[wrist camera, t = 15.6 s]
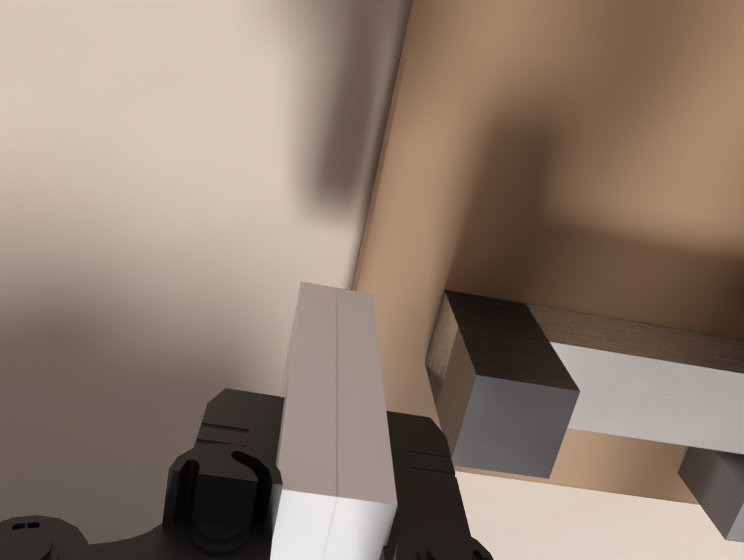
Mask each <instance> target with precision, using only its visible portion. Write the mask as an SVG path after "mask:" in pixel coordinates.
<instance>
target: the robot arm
mask: <svg viewBox="0 0 744 560" xmlns="http://www.w3.org/2000/svg"><path fill="white" fill-rule="evenodd" d="M0 560H493V558H492V556H491V554H490V552H489V551H488V550H486V549H485V548H484V547H483V546H482V545H481V544H480V543H479V542H478V541H477V540H476V539H474V538H472V537H471V534H470V530H469V526H468V522H467V518H466V514H465V510H464V506H463V502H462V498H461V494H460V490H459V486H458V482H457V478H456V477H455V470H454V466H453V462H452V460H451V454H450V450H449V446H448V442H447V438H446V436H445V434H444V433H443V432H442V431H441V430H440V428H439V427H438V426H437V425H436V424H435V422H434V421H433V420H432V419H431V418H430V417H425V416H418V415H412V414H405V413H398V412H392V411H386V405H385V397H384V388H383V380H382V372H381V363H380V355H379V347H378V338H377V330H376V322H375V313H374V305H373V297H372V294H369V293H363V292H357V291H351V290H346V289H340V288H334V287H328V286H322V285H316V284H311V283H305V282H301V285H300V290H299V296H298V301H297V307H296V312H295V318H294V323H293V329H292V334H291V340H290V345H289V351H288V356H287V361H286V367H285V372H284V378H283V383H282V389H281V394H280V397H279V396H272V395H266V394H259V393H253V392H246V391H239V390H233V389H226V388H225V389H224V390H223V391H222V392H221V393H219V394H218V395H217V396H216V397H215V398H213V399H212V400H211V401H210V402H209V403H208V404H207V408H206V411H205V414H204V417H203V420H202V424H201V427H200V430H199V433H198V436H197V440H196V443H195V446H194V448H192V449H191V450H189V451H187V452H185V453H184V454H182V455H180V456H179V457H177V459H176V460H175V462H174V463H173V465H172V466H171V467H170V469H169V473H168V482H167V490H166V498H165V506H164V515H163V523H162V524H160V525H159V526H157V527H156V528H154V529H152V530H151V531H149V532H147V533H145V534H142V535H140V536H137V537H134V538H131V539H126V540H121V541H116V542H109V543H100V544H92V545H88V541H87V540H86V539H85V537H84V536H83V535H82V533H81V532H80V531H79V529H78V528H77V527H75V526H73V525H71V524H69V523H67V522H65V521H63V520H61V519H58V518H52V517H45V516H39V515H35V516H25V517H16V518H11V519H8V520H5V521H2V522H0Z"/></svg>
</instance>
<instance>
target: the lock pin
mask: <svg viewBox="0 0 744 560" xmlns="http://www.w3.org/2000/svg"><path fill="white" fill-rule="evenodd" d="M425 367H426V371H427V375H428V379H429V383H430V387H431V391H432V395H433V399H434V403H435V407H436V411H437V415H438V419H439V423H440V427H441V431H442V432H443V433H444V434H445V436H446V438H447V442H448V446H449V450H450V454H451V460H452V462H453V466H460V467H467V468H474V469H482V470H489V471H496V472H503V473H510V474H517V475H525V476H532V477H539V478H546V479H549V478H550V475H551V472H552V469H553V466H554V464H555V461H556V458H557V455H558V452H559V450H560V447H561V444H562V441H563V439H564V436H565V433H566V430H567V428H571V429H578V430H584V431H591V432H598V433H604V434H611V435H618V436H625V437H631V438H638V439H645V440H651V441H658V442H665V443H671V444H678V445H685V446H692V447H698V448H705V449H712V450H718V451H725V452H732V453H738V454H744V341H743V340H737V339H731V338H725V337H719V336H713V335H708V334H702V333H696V332H690V331H684V330H678V329H672V328H667V327H661V326H655V325H649V324H643V323H637V322H631V321H626V320H620V319H614V318H608V317H602V316H596V315H591V314H585V313H579V312H573V311H567V310H561V309H555V308H550V307H544V306H538V305H532V304H526V303H520V302H514V301H509V300H503V299H497V298H491V297H485V296H479V295H474V294H468V293H462V292H456V291H450V290H444V292H443V296H442V300H441V304H440V308H439V311H438V315H437V319H436V323H435V327H434V330H433V334H432V338H431V342H430V346H429V350H428V353H427V357H426V361H425Z"/></svg>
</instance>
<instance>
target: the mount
mask: <svg viewBox="0 0 744 560" xmlns="http://www.w3.org/2000/svg"><path fill="white" fill-rule="evenodd" d="M444 290H450V291H456V292H462V293H468V294H474V295H479V296H485V297H491V298H497V299H503V300H509V301H514V302H520V303H526V304H532V305H538V306H544V307H550V308H555V309H561V310H567V311H573V312H579V313H585V314H591V315H596V316H602V317H608V318H614V319H620V320H626V321H631V322H637V323H643V324H649V325H655V326H661V327H667V328H672V329H678V330H684V331H690V332H696V333H702V334H708V335H713V336H719V337H725V338H731V339H737V340H743V341H744V0H412V4H411V9H410V13H409V18H408V23H407V28H406V32H405V37H404V42H403V47H402V51H401V56H400V61H399V66H398V71H397V75H396V80H395V85H394V90H393V94H392V99H391V104H390V109H389V113H388V118H387V123H386V128H385V133H384V137H383V142H382V147H381V152H380V156H379V161H378V166H377V171H376V176H375V180H374V185H373V190H372V195H371V199H370V204H369V209H368V214H367V218H366V223H365V228H364V233H363V238H362V242H361V247H360V252H359V257H358V261H357V266H356V271H355V276H354V280H353V285H352V290H351V291H357V292H363V293H369V294H372V297H373V305H374V313H375V322H376V330H377V338H378V347H379V355H380V363H381V372H382V380H383V388H384V397H385V405H386V411H392V412H398V413H405V414H412V415H418V416H425V417H430V418H431V419H432V420H433V421H434V422H435V424H436V425H437V426H438V427H439V428H440V430H441V427H440V423H439V419H438V415H437V411H436V407H435V403H434V399H433V395H432V391H431V387H430V383H429V379H428V375H427V371H426V367H425V361H426V357H427V353H428V350H429V346H430V342H431V338H432V334H433V330H434V327H435V323H436V319H437V315H438V311H439V308H440V304H441V300H442V296H443V292H444ZM454 470H455V471H459V472H466V473H473V474H481V475H488V476H495V477H502V478H509V479H517V480H524V481H531V482H538V483H546V484H553V485H560V486H567V487H574V488H582V489H589V490H596V491H603V492H611V493H618V494H625V495H632V496H639V497H647V498H654V499H661V500H668V501H676V502H683V503H690V504H697V505H701V507H702V508H703V510H704V511H705V512H706V514H707V515H708V516H709V518H710V519H711V521H712V522H713V523H714V525H715V526H716V528H717V529H718V530H719V532H720V533H721V535H722V536H723V537H724V539H725V540H729V541H736V542H744V454H738V453H732V452H725V451H718V450H712V449H705V448H698V447H692V446H685V445H678V444H671V443H665V442H658V441H651V440H645V439H638V438H631V437H625V436H618V435H611V434H604V433H598V432H591V431H584V430H578V429H571V428H567V430H566V433H565V436H564V439H563V441H562V444H561V447H560V450H559V452H558V455H557V458H556V461H555V464H554V466H553V469H552V472H551V475H550V478H549V479H546V478H539V477H532V476H525V475H517V474H510V473H503V472H496V471H489V470H482V469H474V468H467V467H460V466H454Z"/></svg>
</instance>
